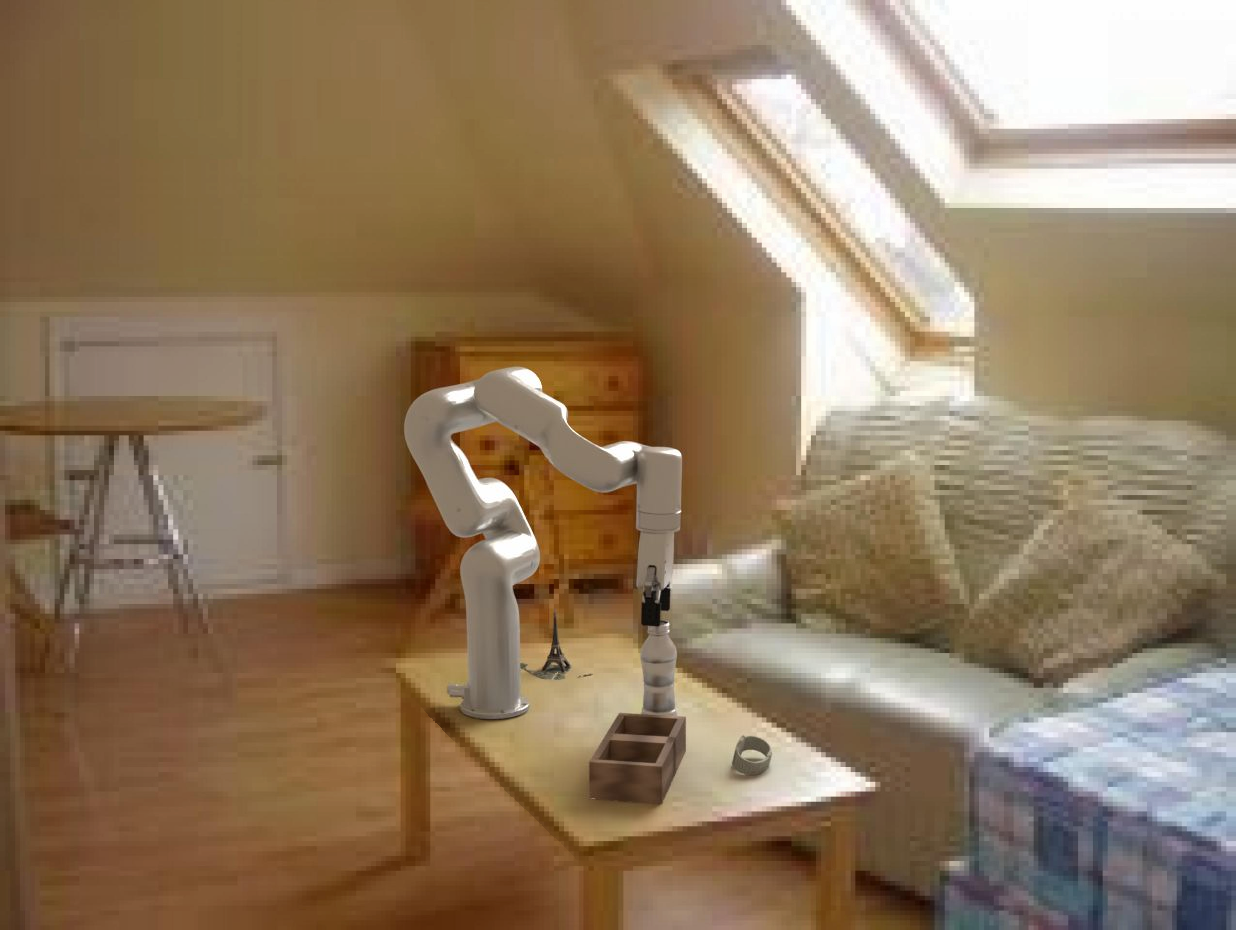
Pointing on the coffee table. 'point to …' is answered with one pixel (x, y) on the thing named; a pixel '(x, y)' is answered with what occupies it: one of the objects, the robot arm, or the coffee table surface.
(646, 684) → the plastic bottle
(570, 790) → the coffee table surface
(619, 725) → the bottle rack
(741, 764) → the wristwatch
